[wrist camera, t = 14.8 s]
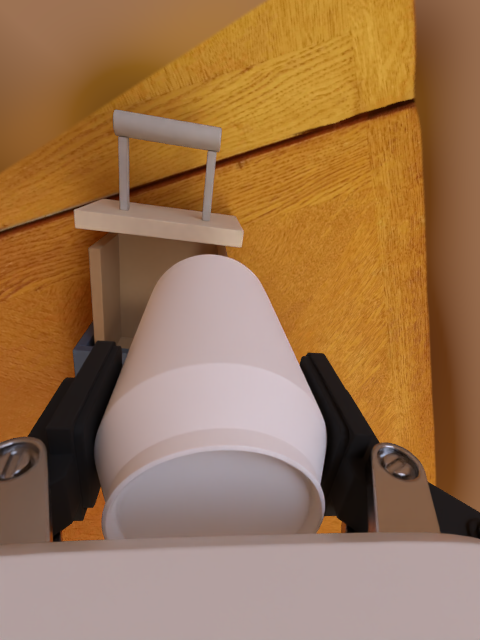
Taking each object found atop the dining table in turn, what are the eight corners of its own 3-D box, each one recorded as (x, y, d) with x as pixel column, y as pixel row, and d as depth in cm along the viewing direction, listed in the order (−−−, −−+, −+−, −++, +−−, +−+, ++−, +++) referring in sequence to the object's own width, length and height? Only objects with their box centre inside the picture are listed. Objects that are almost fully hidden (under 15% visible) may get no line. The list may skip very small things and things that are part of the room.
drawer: (99, 112, 24) (64, 96, 18) (246, 137, 26) (258, 130, 20) (108, 336, 33) (87, 376, 27) (219, 344, 35) (221, 384, 29)
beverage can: (135, 329, 18) (35, 580, 7) (179, 227, 16) (124, 375, 5) (234, 365, 20) (268, 610, 9) (285, 279, 17) (412, 469, 7)
